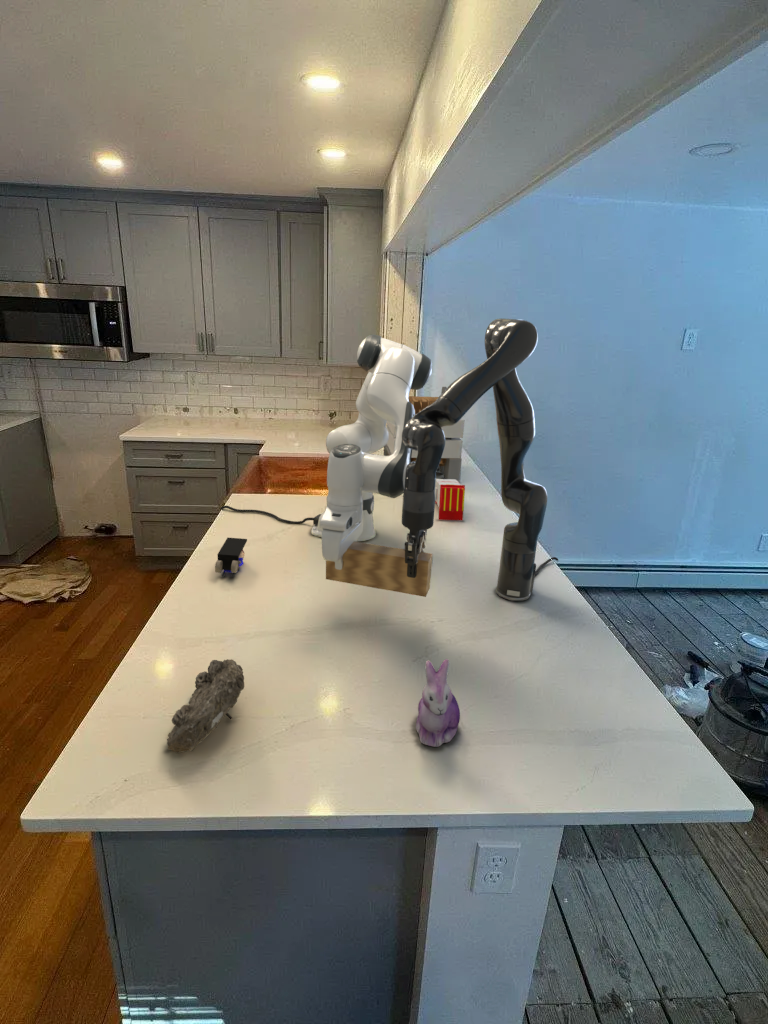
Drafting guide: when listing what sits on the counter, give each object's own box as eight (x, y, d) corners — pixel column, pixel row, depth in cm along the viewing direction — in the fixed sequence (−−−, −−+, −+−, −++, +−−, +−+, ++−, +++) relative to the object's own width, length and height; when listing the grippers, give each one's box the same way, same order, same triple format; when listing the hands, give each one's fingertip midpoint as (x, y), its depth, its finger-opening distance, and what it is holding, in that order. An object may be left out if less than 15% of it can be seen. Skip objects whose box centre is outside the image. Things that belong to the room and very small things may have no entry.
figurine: (430, 757, 101) (436, 686, 95) (402, 721, 109) (406, 654, 104) (473, 741, 105) (481, 672, 100) (443, 707, 113) (449, 643, 108)
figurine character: (238, 584, 162) (249, 557, 175) (236, 562, 158) (247, 536, 172) (215, 584, 161) (227, 556, 175) (212, 561, 158) (225, 535, 171)
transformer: (382, 463, 289) (386, 382, 275) (445, 464, 293) (451, 384, 279) (390, 482, 257) (394, 392, 243) (460, 483, 261) (468, 394, 247)
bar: (325, 579, 143) (326, 545, 140) (332, 571, 147) (333, 537, 144) (425, 597, 137) (428, 561, 133) (429, 588, 141) (432, 553, 138)
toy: (456, 474, 239) (469, 486, 210) (455, 506, 242) (467, 521, 213) (428, 474, 239) (436, 485, 210) (426, 505, 242) (435, 520, 212)
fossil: (192, 660, 117) (244, 628, 112) (224, 691, 120) (276, 661, 115) (142, 746, 98) (202, 712, 93) (182, 779, 101) (242, 748, 96)
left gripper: (346, 497, 148) (345, 546, 153) (316, 523, 130) (316, 578, 134) (369, 500, 147) (367, 549, 151) (342, 527, 128) (341, 582, 133)
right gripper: (427, 518, 125) (422, 587, 131) (440, 499, 138) (435, 562, 144) (395, 513, 127) (391, 582, 132) (410, 495, 140) (406, 558, 145)
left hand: (343, 563), depth 143 cm, fingers closed on bar, 5 cm apart
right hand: (414, 571), depth 138 cm, fingers closed on bar, 5 cm apart
